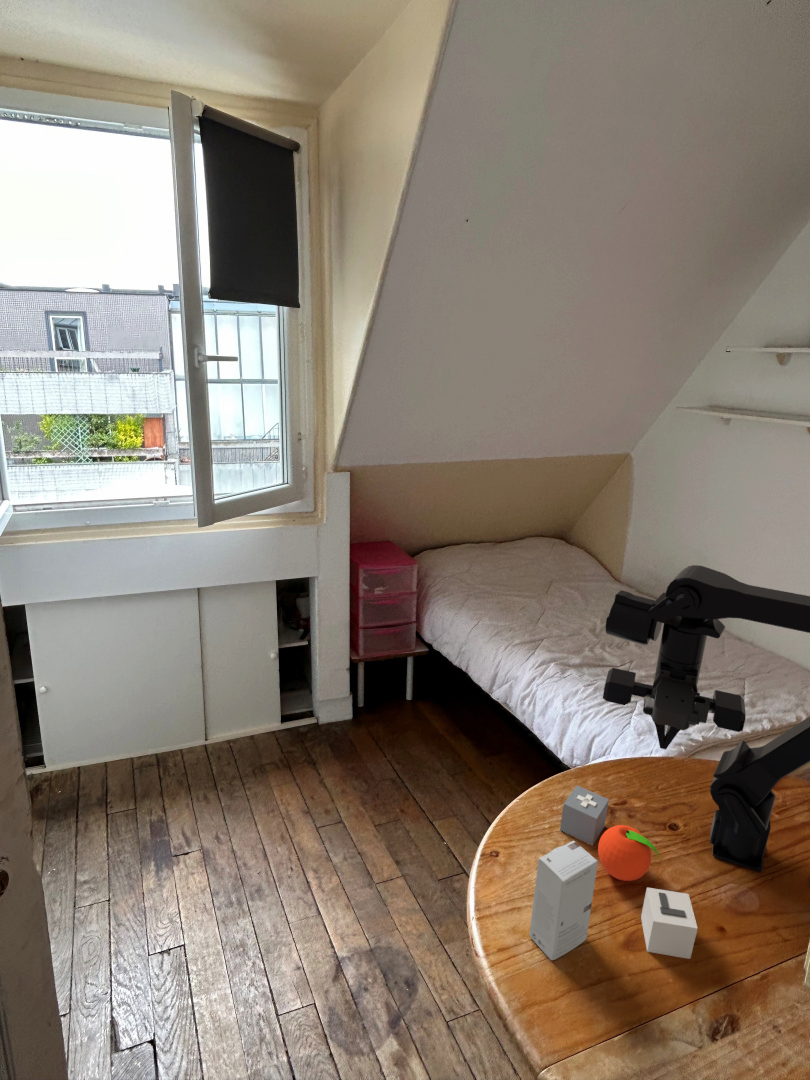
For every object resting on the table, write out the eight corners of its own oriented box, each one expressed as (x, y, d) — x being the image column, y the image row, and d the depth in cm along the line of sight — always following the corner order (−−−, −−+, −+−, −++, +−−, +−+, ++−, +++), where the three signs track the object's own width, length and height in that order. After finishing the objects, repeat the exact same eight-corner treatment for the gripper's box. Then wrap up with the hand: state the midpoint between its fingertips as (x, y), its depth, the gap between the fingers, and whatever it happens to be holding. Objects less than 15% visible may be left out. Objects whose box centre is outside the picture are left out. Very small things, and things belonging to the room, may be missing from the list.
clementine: (659, 867, 95) (667, 827, 93) (650, 904, 89) (659, 861, 87) (601, 846, 99) (607, 806, 96) (589, 880, 93) (596, 838, 90)
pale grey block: (681, 924, 87) (688, 892, 85) (690, 959, 82) (697, 927, 80) (640, 917, 88) (647, 886, 86) (647, 952, 83) (653, 919, 81)
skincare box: (552, 963, 81) (564, 884, 77) (526, 935, 84) (536, 858, 80) (588, 939, 84) (601, 862, 80) (562, 912, 88) (573, 837, 84)
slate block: (604, 826, 103) (609, 798, 101) (592, 846, 99) (596, 817, 97) (573, 811, 105) (577, 784, 103) (559, 831, 101) (563, 802, 100)
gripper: (605, 666, 92) (590, 762, 98) (757, 699, 86) (733, 800, 91) (614, 631, 102) (601, 720, 107) (752, 658, 96) (731, 752, 101)
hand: (663, 747), depth 101 cm, fingers closed
